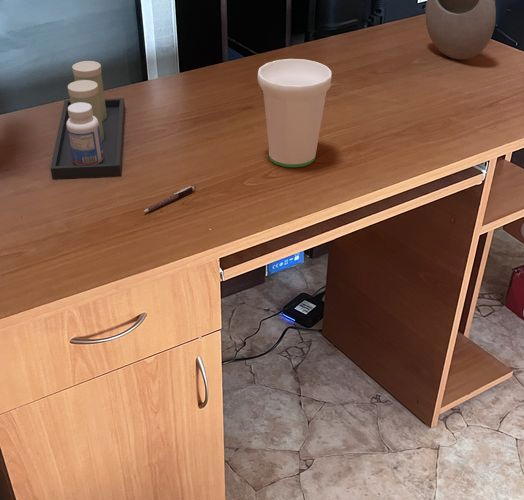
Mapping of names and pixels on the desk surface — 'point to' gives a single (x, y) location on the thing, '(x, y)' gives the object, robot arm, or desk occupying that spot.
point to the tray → (111, 146)
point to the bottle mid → (87, 98)
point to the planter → (460, 26)
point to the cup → (294, 108)
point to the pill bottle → (84, 135)
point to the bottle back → (93, 73)
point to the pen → (170, 198)
